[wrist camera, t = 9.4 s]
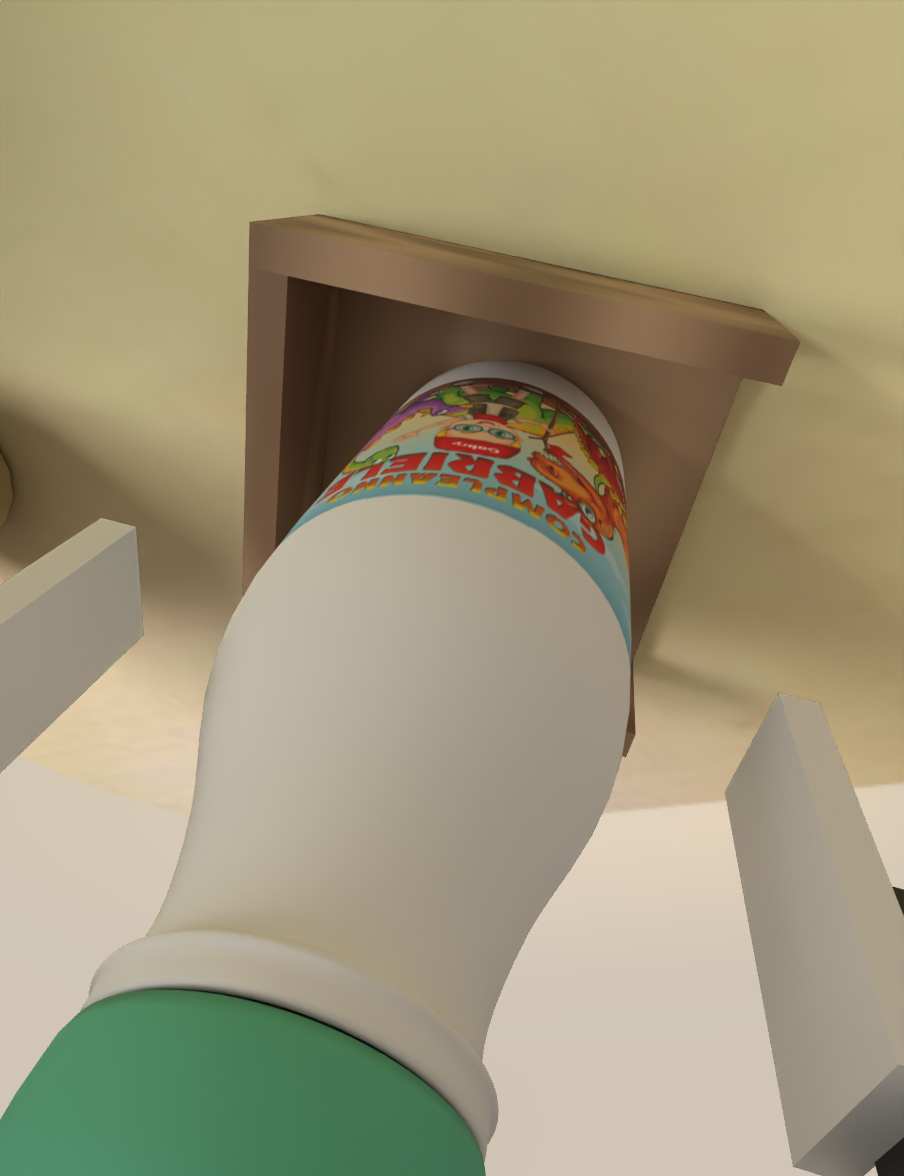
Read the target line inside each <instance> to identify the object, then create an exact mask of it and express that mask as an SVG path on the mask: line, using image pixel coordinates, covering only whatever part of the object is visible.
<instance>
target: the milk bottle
mask: <svg viewBox="0 0 904 1176" xmlns="http://www.w3.org/2000/svg"><path fill="white" fill-rule="evenodd" d="M630 673H631V609H630V576H629V553H628V532H627V512H626V495H625V481H624V472H623V465H622V459H621V454H620V450H619V447H618V444H617V440H616V438H615V436H614V433H613V431H612V429H611V427H610V425H609V423H608V422H607V420H606V418H605V417H604V415H603V414H602V413H601V411H600V410H599V408H598V407H597V406H596V405H595V404H594V403H593V401H592V400H591V399H590V398H589V397H588V396H587V395H586V394H585V393H584V392H582V391H581V390H580V389H579V388H578V387H576V386H575V385H574V384H572V383H571V382H569V381H568V380H566V379H564V378H563V377H561V376H560V375H558V374H555V373H553V372H551V371H549V370H547V369H544V368H541V367H538V366H536V365H532V364H528V363H523V362H517V361H510V360H489V361H480V362H474V363H470V364H466V365H462V366H459V367H456V368H454V369H451V370H449V371H447V372H445V373H443V374H441V375H439V376H437V377H436V378H434V379H433V380H431V381H429V382H428V383H427V384H425V385H424V386H423V387H422V388H421V389H419V390H418V391H417V392H416V393H415V394H414V395H413V396H411V397H410V398H409V399H408V400H407V401H406V402H405V403H404V404H403V405H402V406H401V407H400V408H399V410H398V411H397V412H396V413H395V414H394V415H393V416H392V417H391V418H390V419H389V420H388V421H387V422H386V424H385V425H384V426H383V427H382V428H381V429H380V430H379V431H378V432H377V433H376V434H375V435H374V437H373V438H372V439H371V440H370V441H369V442H368V443H367V444H366V445H365V446H364V448H363V449H362V450H361V451H360V452H359V453H358V454H357V455H356V456H355V457H354V458H353V460H352V461H351V462H350V463H349V464H348V465H347V466H346V467H345V468H344V470H343V471H342V472H341V473H340V474H339V475H338V476H337V477H336V479H335V480H334V481H333V482H332V483H331V484H330V485H329V487H328V488H327V489H326V490H325V491H324V492H323V493H322V494H321V496H320V497H319V498H318V499H317V500H316V501H315V502H314V504H313V505H312V506H311V507H310V508H309V509H308V510H307V511H306V513H305V514H304V515H303V516H302V517H301V518H300V519H299V521H298V522H297V523H296V525H295V526H294V527H293V528H292V530H291V531H290V532H289V533H288V535H287V536H286V537H285V539H284V540H283V541H282V542H281V544H280V545H279V546H278V547H277V549H276V550H275V551H274V553H273V554H272V555H271V556H270V558H269V559H268V560H267V561H266V563H265V564H264V565H263V567H262V568H261V569H260V570H259V572H258V573H257V574H256V576H255V578H254V579H253V581H252V583H251V584H250V586H249V588H248V589H247V591H246V593H245V595H244V596H243V598H242V600H241V601H240V603H239V605H238V607H237V608H236V610H235V612H234V613H233V615H232V617H231V620H230V622H229V624H228V627H227V629H226V631H225V634H224V636H223V639H222V641H221V644H220V646H219V648H218V651H217V653H216V656H215V660H214V664H213V667H212V671H211V675H210V678H209V682H208V686H207V690H206V693H205V700H204V707H203V715H202V722H201V729H200V738H199V750H198V762H197V772H196V782H195V790H194V797H193V803H192V809H191V814H190V818H189V822H188V827H187V830H186V835H185V839H184V843H183V847H182V850H181V853H180V857H179V860H178V864H177V866H176V870H175V873H174V876H173V879H172V882H171V885H170V888H169V890H168V893H167V896H166V898H165V900H164V903H163V905H162V907H161V910H160V912H159V914H158V916H157V918H156V920H155V921H154V923H153V925H152V927H151V928H150V930H149V932H148V933H147V935H146V936H145V937H144V938H141V939H138V940H135V941H133V942H131V943H129V944H126V945H124V946H123V947H121V948H120V949H118V950H116V951H115V952H113V954H111V955H110V956H109V957H108V958H107V959H106V960H105V961H104V962H103V963H102V964H101V965H100V967H99V968H98V969H97V971H96V973H95V975H94V977H93V979H92V982H91V986H90V991H89V997H88V999H87V1000H86V1002H85V1003H84V1005H83V1007H82V1008H81V1010H80V1012H79V1013H78V1014H77V1015H76V1016H75V1017H74V1018H73V1019H72V1020H71V1021H70V1022H69V1023H68V1024H67V1025H66V1026H65V1027H64V1028H63V1029H62V1030H61V1031H60V1032H59V1033H58V1034H57V1035H56V1037H55V1038H54V1040H53V1041H52V1042H51V1044H50V1045H49V1047H48V1048H47V1050H46V1051H45V1052H44V1054H43V1055H42V1057H41V1058H40V1060H39V1061H38V1062H37V1064H36V1065H35V1067H34V1068H33V1070H32V1071H31V1073H30V1074H29V1075H28V1077H27V1078H26V1080H25V1081H24V1083H23V1084H22V1085H21V1087H20V1088H19V1090H18V1091H17V1093H16V1094H15V1096H14V1098H13V1099H12V1101H11V1103H10V1105H9V1106H8V1108H7V1109H6V1111H5V1113H4V1114H3V1116H2V1118H1V1119H0V1176H486V1175H485V1167H484V1162H485V1157H486V1150H487V1144H488V1143H489V1142H490V1140H491V1138H492V1136H493V1134H494V1132H495V1129H496V1125H497V1122H498V1102H497V1096H496V1092H495V1088H494V1085H493V1082H492V1080H491V1078H490V1076H489V1074H488V1071H487V1069H486V1068H485V1066H484V1065H483V1063H482V1058H483V1050H484V1044H485V1040H486V1035H487V1030H488V1028H489V1024H490V1021H491V1018H492V1015H493V1012H494V1009H495V1006H496V1003H497V1001H498V998H499V996H500V993H501V991H502V988H503V986H504V983H505V981H506V979H507V977H508V974H509V972H510V970H511V967H512V965H513V963H514V961H515V958H516V957H517V955H518V953H519V951H520V949H521V947H522V945H523V943H524V941H525V939H526V937H527V935H528V932H529V931H530V929H531V928H532V926H533V924H534V923H535V921H536V919H537V918H538V916H539V914H540V913H541V911H542V910H543V908H544V907H545V906H546V904H547V903H548V901H549V900H550V898H551V897H552V895H553V894H554V892H555V891H556V890H557V888H558V886H559V885H560V884H561V882H562V881H563V880H564V878H565V877H566V875H567V874H568V872H569V871H570V870H571V868H572V866H573V865H574V863H575V862H576V860H577V858H578V857H579V855H580V854H581V852H582V850H583V849H584V847H585V845H586V844H587V842H588V841H589V839H590V838H591V836H592V834H593V832H594V830H595V828H596V826H597V823H598V821H599V819H600V817H601V815H602V813H603V811H604V808H605V806H606V804H607V802H608V799H609V797H610V794H611V791H612V787H613V784H614V781H615V778H616V775H617V772H618V768H619V765H620V761H621V758H622V752H623V747H624V741H625V735H626V729H627V722H628V716H629V709H630Z"/></svg>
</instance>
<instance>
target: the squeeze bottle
mask: <svg viewBox="0 0 904 1176" xmlns="http://www.w3.org/2000/svg"><path fill="white" fill-rule="evenodd" d="M13 498H14V497H13V491H12V484H11V477H10V471H9V469H8V467H7V465H6V463H5V461H4V459H3V457H2V455H1V453H0V527H1V526H2V525H3V523H4V522H5V521H6V519H7V517H8V514H9V511H10V507H11V504H12V501H13Z"/></svg>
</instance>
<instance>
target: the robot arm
mask: <svg viewBox="0 0 904 1176" xmlns="http://www.w3.org/2000/svg"><path fill="white" fill-rule="evenodd" d="M143 635H144V631H143V617H142V603H141V589H140V575H139V561H138V547H137V533H136V527H135V526H131V525H127V524H123V523H119V522H115V521H112V520H108V519H104V518H100V519H99V520H97V521H96V522H94V523H93V524H91V525H90V526H88V527H87V528H85V529H84V530H82V531H81V532H79V533H78V534H76V535H75V536H73V537H71V538H70V539H68V540H67V541H65V542H64V543H62V544H61V545H59V546H58V547H56V548H55V549H53V550H52V551H50V552H49V553H47V554H46V555H44V556H43V557H41V558H39V559H38V560H36V561H35V562H33V563H32V564H30V565H29V566H27V567H26V568H24V569H23V570H21V571H20V572H18V573H17V574H15V575H14V576H12V577H11V578H9V579H7V580H6V581H4V582H3V583H1V584H0V773H1V772H2V771H3V770H4V769H5V768H6V767H7V766H8V765H9V764H10V763H11V762H12V761H13V760H14V759H15V758H16V757H17V756H19V755H20V754H21V753H22V752H23V751H24V750H25V749H26V748H27V747H28V746H29V745H30V744H31V743H32V742H33V741H34V740H35V739H36V738H37V737H38V736H39V735H40V734H41V733H42V732H43V731H44V730H45V729H47V728H48V727H49V726H50V725H51V724H52V723H53V722H54V721H55V720H56V719H57V718H58V717H59V716H60V715H61V714H62V713H63V712H64V711H65V710H66V709H67V708H68V707H69V706H70V705H71V704H72V703H74V702H75V701H76V700H77V699H78V698H79V697H80V696H81V695H82V694H83V693H84V692H85V691H86V690H87V689H88V688H89V687H90V686H91V685H92V684H93V683H94V682H95V681H96V680H97V679H98V678H99V677H100V676H102V675H103V674H104V673H105V672H106V671H107V670H108V669H109V668H110V667H111V666H112V665H113V664H114V663H115V662H116V661H117V660H118V659H119V658H120V657H121V656H122V655H123V654H124V653H125V652H126V651H127V650H128V649H130V648H131V647H132V646H133V645H134V644H135V643H136V642H137V641H138V640H139V639H140V638H141V637H142V636H143ZM725 795H726V801H727V806H728V811H729V817H730V823H731V828H732V834H733V839H734V845H735V850H736V856H737V861H738V867H739V872H740V878H741V883H742V889H743V894H744V899H745V905H746V911H747V916H748V922H749V927H750V933H751V938H752V944H753V949H754V954H755V960H756V966H757V971H758V976H759V982H760V988H761V993H762V998H763V1004H764V1010H765V1015H766V1020H767V1025H768V1032H769V1037H770V1043H771V1048H772V1053H773V1059H774V1064H775V1070H776V1076H777V1081H778V1087H779V1092H780V1098H781V1103H782V1108H783V1114H784V1120H785V1125H786V1130H787V1136H788V1141H789V1147H790V1152H791V1158H792V1163H793V1167H796V1168H799V1169H802V1170H805V1171H809V1172H812V1173H815V1174H818V1175H822V1176H864V1175H865V1174H866V1173H867V1172H869V1171H870V1170H871V1169H872V1168H873V1167H874V1166H876V1169H877V1173H878V1176H904V890H903V889H900V888H896V887H892V885H891V883H890V880H889V878H888V875H887V873H886V870H885V867H884V865H883V863H882V860H881V857H880V855H879V852H878V850H877V847H876V845H875V842H874V840H873V837H872V835H871V832H870V830H869V827H868V824H867V822H866V819H865V817H864V815H863V812H862V809H861V807H860V804H859V802H858V799H857V797H856V794H855V791H854V789H853V786H852V784H851V781H850V779H849V776H848V774H847V771H846V769H845V766H844V764H843V761H842V758H841V756H840V753H839V751H838V748H837V746H836V743H835V741H834V738H833V736H832V733H831V731H830V728H829V726H828V723H827V720H826V718H825V715H824V713H823V710H822V708H821V705H820V703H818V702H814V701H810V700H807V699H803V698H799V697H795V696H791V695H787V694H783V693H778V695H777V697H776V699H775V701H774V702H773V704H772V706H771V708H770V710H769V712H768V713H767V715H766V717H765V719H764V721H763V723H762V724H761V726H760V728H759V730H758V732H757V734H756V736H755V737H754V739H753V741H752V743H751V745H750V747H749V748H748V750H747V752H746V754H745V756H744V758H743V759H742V761H741V763H740V765H739V767H738V769H737V771H736V772H735V774H734V776H733V778H732V780H731V782H730V783H729V785H728V787H727V789H726V791H725Z"/></svg>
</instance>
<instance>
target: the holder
mask: <svg viewBox="0 0 904 1176" xmlns="http://www.w3.org/2000/svg"><path fill="white" fill-rule="evenodd" d="M799 344H800V341H799V340H798V339H797V338H795V337H794V336H793V335H792V334H791V333H790V332H788V331H787V330H786V329H785V328H784V327H783V326H781V325H780V324H779V323H778V322H777V321H776V320H774V319H773V318H772V317H771V316H770V315H769V314H767V313H766V312H765V311H764V310H762V309H757V308H752V307H748V306H743V305H738V304H734V303H729V302H724V301H720V300H715V299H710V298H706V297H701V296H696V295H692V294H687V293H682V292H678V291H673V290H668V289H664V288H659V287H655V286H650V285H645V284H641V283H636V282H631V281H627V280H622V279H617V278H613V277H608V276H603V275H599V274H594V273H589V272H585V271H580V270H575V269H571V268H566V267H561V266H557V265H552V264H547V263H543V262H538V261H534V260H529V259H524V258H520V257H515V256H510V255H506V254H501V253H496V252H492V251H487V250H482V249H478V248H473V247H468V246H464V245H459V244H454V243H450V242H445V241H440V240H436V239H431V238H426V237H422V236H417V235H413V234H408V233H403V232H399V231H394V230H389V229H385V228H380V227H375V226H371V225H366V224H361V223H357V222H352V221H347V220H343V219H338V218H333V217H329V216H324V215H319V214H317V215H308V216H299V217H290V218H281V219H272V220H263V221H254V222H250V237H249V290H248V342H247V395H246V448H245V500H244V553H243V596H244V595H245V593H246V591H247V589H248V588H249V586H250V584H251V583H252V581H253V579H254V578H255V576H256V574H257V573H258V572H259V570H260V569H261V568H262V567H263V565H264V564H265V563H266V561H267V560H268V559H269V558H270V556H271V555H272V554H273V553H274V551H275V550H276V549H277V547H278V546H279V545H280V544H281V542H282V541H283V540H284V539H285V537H286V536H287V535H288V533H289V532H290V531H291V530H292V528H293V527H294V526H295V525H296V523H297V522H298V521H299V519H300V518H301V517H302V516H303V515H304V514H305V513H306V511H307V510H308V509H309V508H310V507H311V506H312V505H313V504H314V502H315V501H316V500H317V499H318V498H319V497H320V496H321V494H322V493H323V492H324V491H325V490H326V489H327V488H328V487H329V485H330V484H331V483H332V482H333V481H334V480H335V479H336V477H337V476H338V475H339V474H340V473H341V472H342V471H343V470H344V468H345V467H346V466H347V465H348V464H349V463H350V462H351V461H352V460H353V458H354V457H355V456H356V455H357V454H358V453H359V452H360V451H361V450H362V449H363V448H364V446H365V445H366V444H367V443H368V442H369V441H370V440H371V439H372V438H373V437H374V435H375V434H376V433H377V432H378V431H379V430H380V429H381V428H382V427H383V426H384V425H385V424H386V422H387V421H388V420H389V419H390V418H391V417H392V416H393V415H394V414H395V413H396V412H397V411H398V410H399V408H400V407H401V406H402V405H403V404H404V403H405V402H406V401H407V400H408V399H409V398H410V397H411V396H413V395H414V394H415V393H416V392H417V391H418V390H419V389H421V388H422V387H423V386H424V385H425V384H427V383H428V382H429V381H431V380H433V379H434V378H436V377H437V376H439V375H441V374H443V373H445V372H447V371H449V370H451V369H454V368H456V367H459V366H462V365H466V364H470V363H474V362H480V361H489V360H510V361H517V362H523V363H528V364H532V365H536V366H538V367H541V368H544V369H547V370H549V371H551V372H553V373H555V374H558V375H560V376H561V377H563V378H564V379H566V380H568V381H569V382H571V383H572V384H574V385H575V386H576V387H578V388H579V389H580V390H581V391H582V392H584V393H585V394H586V395H587V396H588V397H589V398H590V399H591V400H592V401H593V403H594V404H595V405H596V406H597V407H598V408H599V410H600V411H601V413H602V414H603V415H604V417H605V418H606V420H607V422H608V423H609V425H610V427H611V429H612V431H613V433H614V436H615V438H616V440H617V444H618V447H619V450H620V454H621V459H622V465H623V472H624V481H625V495H626V512H627V532H628V553H629V576H630V609H631V673H630V709H629V716H628V722H627V729H626V735H625V741H624V747H623V752H622V756H624V757H626V755H627V753H628V751H629V748H630V746H631V744H632V741H633V739H634V736H635V711H634V685H633V658H634V655H635V653H636V650H637V647H638V645H639V642H640V640H641V637H642V635H643V632H644V629H645V627H646V624H647V622H648V619H649V616H650V614H651V611H652V609H653V606H654V604H655V601H656V598H657V596H658V593H659V591H660V588H661V586H662V583H663V580H664V578H665V575H666V573H667V570H668V568H669V565H670V562H671V560H672V557H673V555H674V552H675V550H676V547H677V544H678V542H679V539H680V537H681V534H682V531H683V529H684V526H685V524H686V521H687V519H688V516H689V513H690V511H691V508H692V506H693V503H694V501H695V498H696V495H697V493H698V490H699V488H700V485H701V483H702V480H703V477H704V475H705V472H706V470H707V467H708V464H709V462H710V459H711V457H712V454H713V452H714V449H715V446H716V444H717V441H718V439H719V436H720V434H721V431H722V428H723V426H724V423H725V421H726V418H727V416H728V413H729V410H730V408H731V405H732V403H733V400H734V397H735V395H736V392H737V390H738V387H739V385H740V382H741V379H742V377H744V378H748V379H753V380H757V381H761V382H766V383H770V384H775V385H779V386H782V384H783V382H784V379H785V377H786V375H787V372H788V370H789V368H790V365H791V363H792V360H793V358H794V356H795V353H796V351H797V349H798V346H799Z"/></svg>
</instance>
